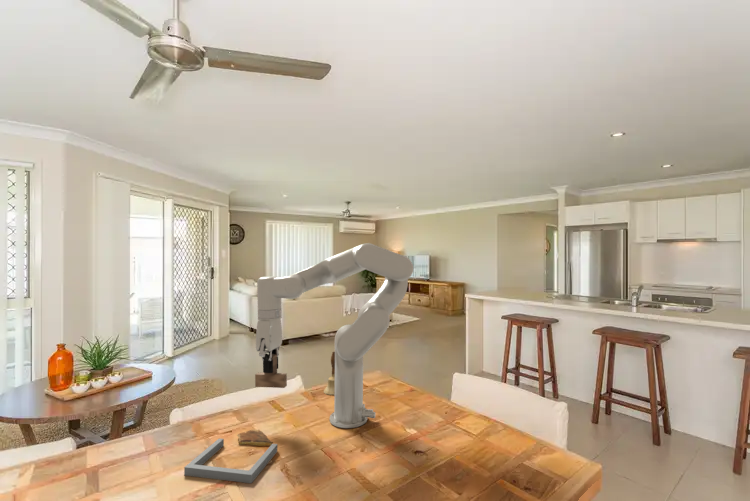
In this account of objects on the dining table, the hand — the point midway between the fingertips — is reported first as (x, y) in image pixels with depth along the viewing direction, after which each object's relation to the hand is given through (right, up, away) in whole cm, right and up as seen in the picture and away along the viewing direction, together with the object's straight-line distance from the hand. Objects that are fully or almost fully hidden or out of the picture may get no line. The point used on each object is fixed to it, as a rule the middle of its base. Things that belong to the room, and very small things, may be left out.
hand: (270, 370), depth 117 cm
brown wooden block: (0, -5, 0) cm, 5 cm away
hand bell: (+17, -19, +29) cm, 38 cm away
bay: (-3, -17, -22) cm, 28 cm away
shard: (-1, -18, -9) cm, 20 cm away
